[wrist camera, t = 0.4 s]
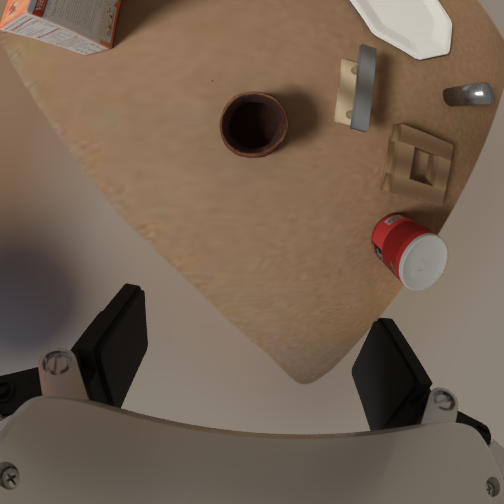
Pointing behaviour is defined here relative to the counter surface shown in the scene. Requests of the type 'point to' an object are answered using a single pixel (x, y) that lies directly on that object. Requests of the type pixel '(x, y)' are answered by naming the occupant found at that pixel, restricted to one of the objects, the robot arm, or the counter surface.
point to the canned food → (410, 251)
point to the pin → (469, 95)
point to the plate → (408, 25)
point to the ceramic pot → (253, 124)
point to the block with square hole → (417, 165)
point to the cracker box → (64, 22)
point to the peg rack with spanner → (356, 90)
